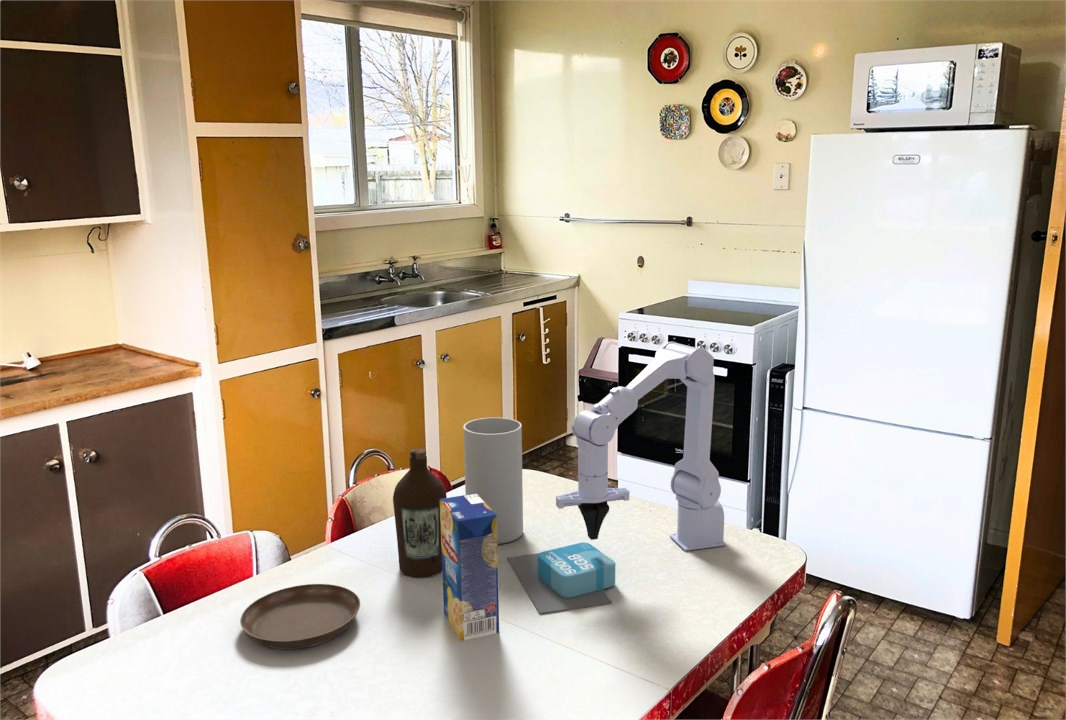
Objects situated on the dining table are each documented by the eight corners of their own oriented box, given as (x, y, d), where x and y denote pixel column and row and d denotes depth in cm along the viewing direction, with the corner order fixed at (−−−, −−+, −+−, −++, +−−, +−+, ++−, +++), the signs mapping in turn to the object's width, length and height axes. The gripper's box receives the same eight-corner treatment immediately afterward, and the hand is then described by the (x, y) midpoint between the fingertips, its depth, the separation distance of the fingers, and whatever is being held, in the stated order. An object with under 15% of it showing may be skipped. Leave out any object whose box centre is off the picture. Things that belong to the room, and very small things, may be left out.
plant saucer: (223, 623, 155) (222, 606, 154) (328, 587, 168) (327, 571, 167) (270, 672, 140) (269, 654, 139) (382, 629, 152) (381, 611, 152)
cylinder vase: (458, 528, 194) (455, 422, 189) (509, 518, 199) (507, 414, 194) (479, 550, 183) (475, 437, 178) (532, 539, 188) (530, 429, 183)
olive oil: (396, 558, 180) (391, 443, 174) (447, 554, 181) (443, 441, 176) (396, 581, 169) (389, 460, 164) (450, 577, 171) (445, 457, 165)
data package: (618, 563, 165) (564, 577, 160) (618, 585, 166) (564, 600, 161) (586, 540, 176) (534, 553, 170) (586, 561, 176) (534, 574, 171)
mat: (571, 550, 182) (571, 548, 182) (611, 603, 160) (612, 601, 160) (507, 558, 179) (507, 557, 179) (539, 614, 156) (539, 613, 156)
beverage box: (479, 604, 160) (476, 493, 155) (499, 633, 150) (496, 514, 145) (443, 611, 158) (439, 498, 153) (461, 641, 148) (458, 521, 143)
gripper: (620, 461, 172) (619, 525, 175) (551, 469, 169) (551, 534, 171) (633, 473, 166) (633, 539, 169) (562, 481, 162) (562, 548, 165)
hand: (592, 537), depth 170 cm, fingers closed
